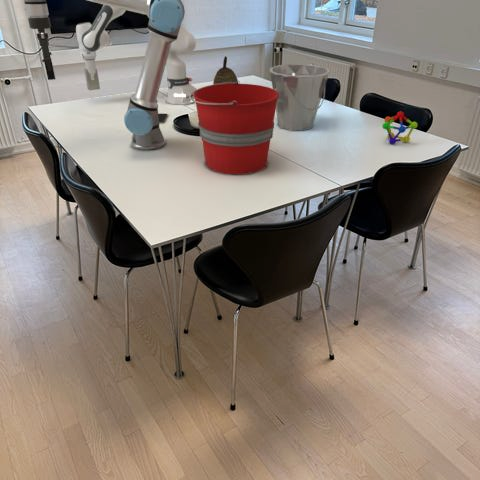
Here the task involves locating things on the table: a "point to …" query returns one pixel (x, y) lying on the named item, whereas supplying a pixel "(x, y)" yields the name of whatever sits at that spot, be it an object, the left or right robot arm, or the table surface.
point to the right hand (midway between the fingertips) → (92, 78)
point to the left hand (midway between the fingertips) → (51, 76)
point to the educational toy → (398, 128)
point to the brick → (92, 81)
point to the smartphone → (162, 117)
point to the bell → (225, 74)
